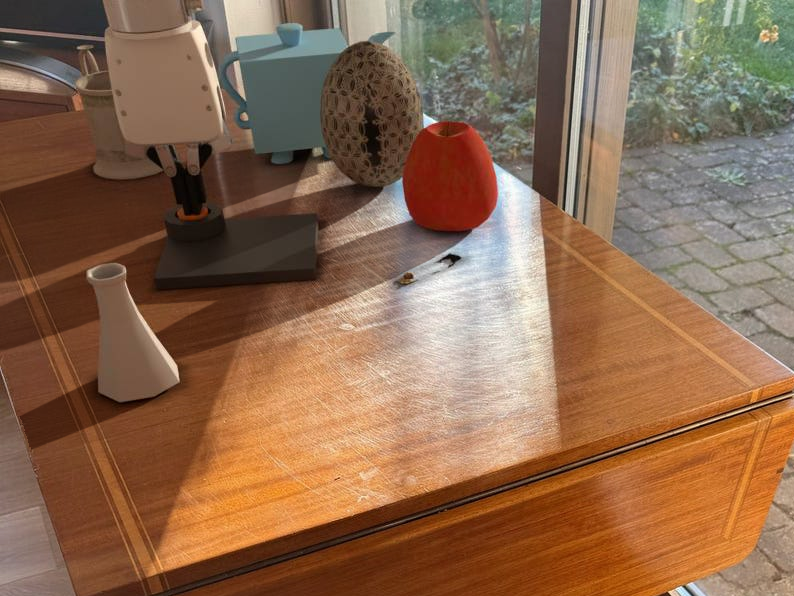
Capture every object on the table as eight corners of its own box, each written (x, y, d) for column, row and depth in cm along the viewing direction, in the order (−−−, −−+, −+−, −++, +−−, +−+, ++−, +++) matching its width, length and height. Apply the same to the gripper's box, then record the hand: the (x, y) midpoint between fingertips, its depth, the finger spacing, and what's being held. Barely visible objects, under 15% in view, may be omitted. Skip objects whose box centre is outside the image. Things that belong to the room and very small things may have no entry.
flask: (194, 386, 85) (165, 274, 78) (114, 413, 83) (76, 300, 76) (162, 352, 90) (132, 244, 83) (85, 377, 87) (47, 267, 80)
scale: (156, 290, 99) (148, 260, 97) (174, 230, 109) (167, 203, 107) (315, 279, 100) (311, 250, 97) (319, 222, 110) (315, 194, 108)
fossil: (451, 258, 103) (450, 250, 102) (463, 263, 102) (463, 255, 101) (395, 283, 99) (394, 275, 99) (407, 289, 98) (406, 281, 98)
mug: (186, 166, 123) (161, 58, 115) (111, 185, 119) (80, 75, 110) (139, 136, 131) (113, 34, 123) (68, 153, 127) (36, 49, 119)
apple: (416, 248, 104) (408, 143, 97) (396, 211, 111) (388, 111, 104) (508, 235, 106) (508, 131, 98) (483, 200, 113) (481, 100, 106)
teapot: (235, 170, 121) (211, 44, 112) (231, 140, 129) (208, 20, 119) (410, 152, 124) (401, 28, 115) (396, 124, 132) (387, 5, 122)
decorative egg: (426, 164, 121) (418, 25, 111) (428, 201, 113) (419, 54, 103) (331, 168, 121) (314, 29, 111) (326, 206, 113) (307, 59, 102)
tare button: (179, 234, 105) (175, 217, 104) (183, 222, 107) (179, 205, 106) (209, 232, 105) (205, 215, 104) (212, 220, 107) (209, 203, 106)
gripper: (231, -3, 95) (266, 192, 108) (74, 6, 94) (129, 201, 107) (224, 17, 89) (262, 219, 103) (58, 26, 89) (117, 229, 102)
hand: (194, 209), depth 105 cm, fingers closed
